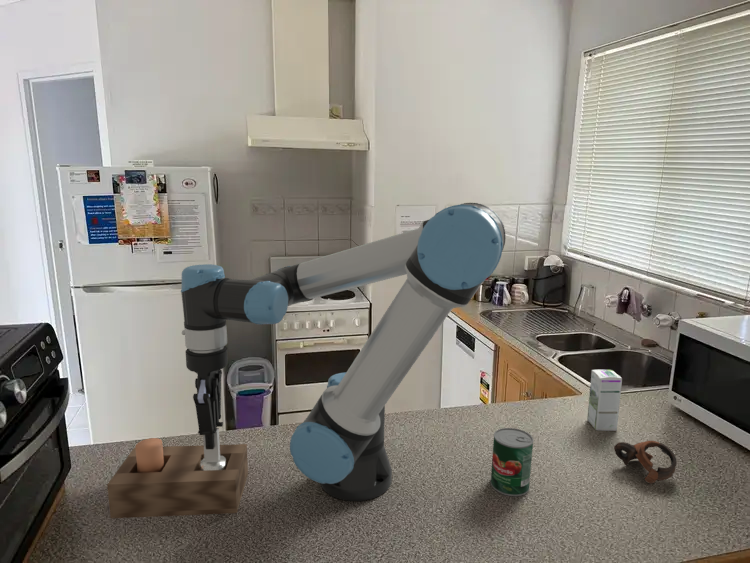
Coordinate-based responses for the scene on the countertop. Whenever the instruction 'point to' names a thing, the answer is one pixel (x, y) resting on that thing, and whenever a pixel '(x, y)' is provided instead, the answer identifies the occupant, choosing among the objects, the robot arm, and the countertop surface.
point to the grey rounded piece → (214, 464)
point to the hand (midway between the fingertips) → (212, 460)
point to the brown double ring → (646, 458)
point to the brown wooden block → (179, 484)
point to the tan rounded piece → (149, 455)
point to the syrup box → (604, 400)
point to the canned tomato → (511, 461)
